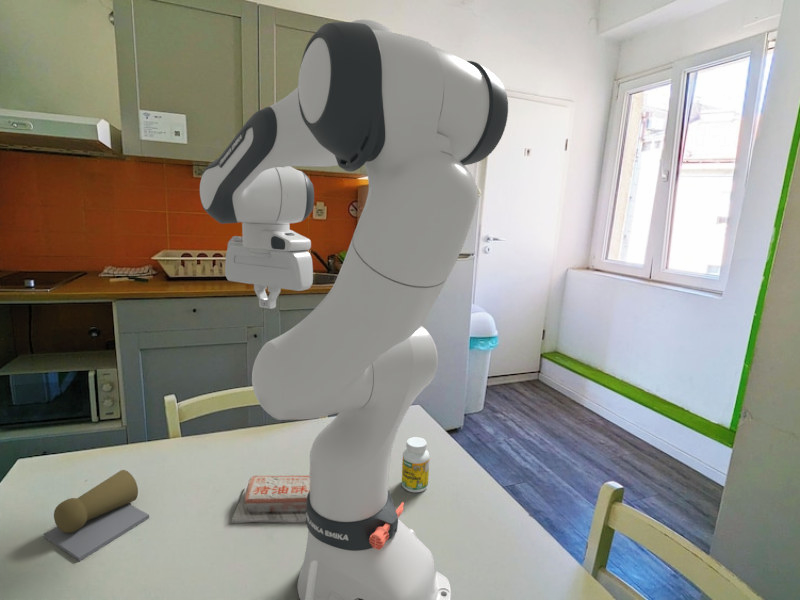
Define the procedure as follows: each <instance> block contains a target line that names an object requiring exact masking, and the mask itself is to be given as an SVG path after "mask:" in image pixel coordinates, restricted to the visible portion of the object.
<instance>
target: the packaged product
mask: <svg viewBox="0 0 800 600" xmlns="http://www.w3.org/2000/svg"><path fill="white" fill-rule="evenodd" d="M309 491H310V475H252V476H250V478H249V480H248V481H247V482H246V485H245V487H244V489H243V492H242V494H241V497H240V500H239V501H238V504H237V507H236V509H235V511H234V513H233V517H232V518H231V522H232V523H242V524H243V523H251V522H256V523H306V504H307V495H308V493H309Z"/></svg>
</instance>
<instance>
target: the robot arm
mask: <svg viewBox="0 0 800 600" xmlns="http://www.w3.org/2000/svg"><path fill="white" fill-rule="evenodd" d="M300 62H301V63H300V67H299V73H298V79H297V80H298V81H297V82H298V83H297V87H296V88H295V89H294V90H293V91H291V92H290V93H288V95H286V96H285V97H283V98H282V99H279V101H277V102H275V103H273V104H271V105H269V106H267V107H263V108H262V109H259V110H258V111H256V112H254V113H253V114H252V116H250V117H249V118H248V120H247V121H246V122H245V123H244V125H243V126H241V129H240V130H238V132H237V134H236V135H235V136H234V138H233V139H231V142H230V143H229V144H228V146H227V147H226V148H225V149H224V150H223V151H222V153H221V155H220V156H219V157H218V158H217V159H214V160H213V161H212V162H210V164H208V166H207V167H205V168H204V171H202V175H201V179H200V183H199V197H200V202H201V206H202V208H203V210H204V211H205V212H206V213H207V214H208V215H209V216H210V217H211V218H213V219H214V220H215V221H217V223H219V224H222V225H223V224H224V225H225V224H238V223H242V224H241V225H242V226H241V227H242V229H241V230H242V232H241V233H242V236H238V235H234V236H232V237H231V238H230V239H229V241H228V242H227V248H226V249H227V250H226V252H225V263H224V275H225V277H226V279H227V280H228V281H229V282H236V283H243V284H248V285H253V291H254V292H255V294H256V297H257V299H258V306H259V308H266V309H271V310H273V309H275V308H276V307H277V299H278V297H279V295H280V293H281V291H282V290H283V289H284V290H290V291H295V292H296V291H297V292H300V291H305V290H310V288H311V287H312V285H313V282H314V281H313V280H314V267H313V258H312V255H311V254H310V252H309V251H308V250H311V248H312V241H311V239H310V238H308V237H306V236H304V235H301V234H300V233H298V232H296V231H294V230H292V229H290V228H291V227H290V224H296V223H301V222H304V221H305V220H306V219H307V218H308V217H309V216H310V215H311V213H312V212H313V210H314V205H315V188H314V184H313V182H312V181H311V179H310V178H309V177H308V175H307V174H306V173H304V171H303V170H298V169H296V168H295V167H320V168H321V167H336V166H339V168H340V169H342V170H344V171H345V172H349V173H350V172H355V171H358V170H360V168H362V167H363V166H364V168H365V170H366V171H365V172H366V173H367V181H368V191H367V197H366V200H365V205H364V206H363V209H362V211H361V214H360V217H359V219H358V222H357V225H356V228H355V229H354V232H353V235H352V238H351V241H350V244H349V246H348V249H347V252H346V254H345V257H344V260H343V262H342V265H341V267H340V270H339V273H338V274H337V277H336V280H335V282H334V283H333V286H332V287H331V288H330V290H329V292H328V293H327V294H326V296H325V297H324V298H323V299H322V300H321V301H320V302H319V304H318V305H317V306H316V307H315V308H314V309H313V310H312V311H311V312H310V313H309V314H308V315H306V317H305V318H304V319H302V320H301V321H300V322H298V323H297V324H295V326H293V327H292V328H291V329H288V330H287V331H286V332H284V333H283V334H281V335H279V336H277V337H274V338H273V339H271V340H269V341H266V343H265V344H264V345H263V346H262V347H261V349H260V350H259V351H258V354H257V356H256V357H255V360H254V363H253V367H252V372H251V373H252V374H251V383H252V385H251V386H252V390H253V393H254V395H255V398H256V399H257V403H259V405H260V406H261V408H262V409H263V410H264V411H265V412H266V413H267V414H268V415H270V416H271V417H272V418H274V419H275V420H278V421H279V420H280V421H283V420H285V421H287V420H289V421H290V420H311V419H319V418H322V417H326V416H331V415H335V414H337V415H336V417H334V419H332V420H331V422H330V423H328V424H327V425H326V426H325V427H324V428H323V429H322V430H320V432H318V434H317V436H316V437H315V439H314V441H313V443H312V445H311V448H310V452H309V476H310V491H309V493H308V495H307V504H306V522H305V523H306V527H307V529H308V530H307V538H306V539H307V541H306V548H305V552H304V553H305V555H304V558H303V563H302V566H301V569H300V572H299V574H298V578H297V594H298V597H299V600H452V589H451V584H450V581H449V579H448V578H447V577H446V576H444V575H443V574H442V573H440V572H439V571H437V570H436V569H437V567H436V564H435V558H434V556H433V554H432V552H431V550H430V549H429V548H428V547H427V546H426V545H425V544H424V543H423V542H422V541H421V540H420V539H419V538H418V536H417V534H416V532H415V531H414V530H413V529H412V528H410V527H407V526H406V524H404V522H402V521H401V520H400V518H399V517H400V516H401V514H402V513H403V511H404V510H405V509H404V505H405V502H404V501H402V502H401V503H400V505H399V506H398V507H397V508H396V507H395V504H394V501H393V498H392V495H391V493H390V491H389V482H390V481H389V479H390V467H391V460H392V459H391V457H392V451H393V448H394V447H393V446H394V444H395V443H394V442H395V439H396V437H397V434H398V431H399V429H400V427H401V425H402V423H403V421H404V418H405V416H406V414H407V412H408V411H409V409H410V408H411V406H412V404H413V403H414V402H415V400H416V398H417V397H418V395H420V394H421V392H422V391H423V390H424V389H425V388H427V386H428V385H430V384H431V383H432V381H433V380H434V378H435V376H436V373H437V369H438V365H439V357H438V355H439V354H438V348H437V346H436V343H435V341H434V339H433V337H432V335H431V334H430V333H429V331H428V330H427V329H426V328H425V327H424V326H422V325H423V324H424V323H425V320H426V318H427V316H428V314H429V313H430V311H431V309H432V308H433V306H434V304H435V302H436V300H437V298H438V297H439V295H440V293H441V292H442V289H443V288H444V286H445V285H446V282H447V280H448V278H449V276H450V274H451V272H452V270H453V268H454V266H455V265H456V263H457V260H458V259H459V255H460V254H461V251H462V249H463V247H464V244H465V242H466V239H467V236H468V234H469V231H470V228H471V225H472V222H473V219H474V215H475V211H476V209H477V205H478V198H479V194H478V193H479V192H478V191H479V190H478V185H477V183H476V180H475V178H474V176H473V174H472V173H471V171H469V169H468V168H467V167H466V166H468V165H469V166H470V165H473V164H475V163H479V162H481V161H483V160H485V159H486V158H487V157H488V156H489V155H490V154H492V153H493V152H494V150H495V149H496V147H497V146H498V145H499V142H500V140H502V137H503V135H504V132H505V129H506V127H507V122H508V117H509V115H508V114H509V100H508V94H507V91H506V88H505V86H504V84H503V82H501V80H500V79H499V78H498V77H497V76H496V75H495V74H494V73H493V72H491V71H490V70H489V69H488V68H486V67H485V66H483V65H481V64H479V62H475V61H472V60H465V59H463V58H461V57H459V56H456V55H455V54H453V53H451V52H448V51H446V50H444V49H441V48H439V47H435V46H433V45H432V44H431V43H430V42H428V41H425V40H423V39H420V38H416V37H412V36H409V35H405V34H401V33H396V32H393V31H392V30H390V28H388V27H387V26H385V25H383V24H381V23H380V22H377V21H375V20H370V19H358V20H354V21H335V22H328V23H327V22H326V23H324V24H322V25H321V26H320V27H319V28H318V29H317V30H316V31H315V33H313V35H312V36H311V37H310V39H309V41H307V44H306V46H305V49H304V52H303V55H302V58H301V61H300ZM281 289H282V290H281ZM266 290H267V291H266ZM266 292H268V293H269V295H268V294H267V293H266Z"/></svg>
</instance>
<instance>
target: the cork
mask: <svg viewBox="0 0 800 600" xmlns="http://www.w3.org/2000/svg"><path fill="white" fill-rule="evenodd" d="M138 495H139V488H138V484H137V481H136V480H135V477H134V476H133V474H131V473H130V471H128V470H125V469H121V470H119V471H118V472H116V473H114V474H113V475H111V476H110V477H108V478H107V479H105V480H104V481H102V482H100V483H99V484H98V485H96V486H95V487H93V488H91V489H90V490H89V489H88V490H87V491H86V492H85V493H83V494H82V495H80V496H78V497H76V498H75V497H71V498H67V499H65V500H62V502H60V503H59V504H58V505H57V506H56V507H55V509H54V511H53V519H54V523H55V525H56V527H58V528H59V529H60V530H61V531H62V532H64V533H71V532H74V531H76V530H78V529H80V528H81V527H82V526H84V524H85V523H86V521H88V520H90V519H92V518H95V517H97V516H99V515H102V514H104V513H107V512H109V511H111V510H114V509H116V508H118V507H121V506H123V505H125V504H130V503H132V502H133V503H134V501H136V500H137V498H138Z"/></svg>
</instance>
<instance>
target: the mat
mask: <svg viewBox="0 0 800 600" xmlns="http://www.w3.org/2000/svg"><path fill="white" fill-rule="evenodd" d="M149 518H150V514H149V513H147V512H145V511H144V510H141V509H139V508H137V507H136V506H133V505H132V504H130V503H128V504H125V505H123V506H121V507H118V508H116V509H114V510H111V511H109V512H107V513H104V514H102V515H99V516H97V517H95V518H92V519H90V520H88V521H86V523H85V524H84V526H82V527H81V528H80V529H78V530H76V531H74V532H71V533H64V532H62V531H61V530H60V529H59V528H58V527H57V526H56V527H54V528H52V529H49V530H48V531H47V532H44V533H43V538H45V539H46V540H48V541H49V542H51V543H52V544H53V545H55V546H56V547H58V548H60V549H61V550H62V551H64V552H66V554H68V555H70V556H71V557H73V558H74V559H75V560H77V561H78V562H81V561H83V559H84V560H85V559H86V558H87V557H89V556H91V555H92V554H94V553H95V552H97V551H99V550H100V549H102V548H103V547H105V546H107V545H108V544H110V543H112V542H113V541H115V540H116V539H118V538H119V537H122V535H125V534H126V533H127V532H129V531H131V530H132V529H134V528H136V527H137V526H138V525H141V524H142V523H144V522H145V521H146V520H148V519H149Z"/></svg>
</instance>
